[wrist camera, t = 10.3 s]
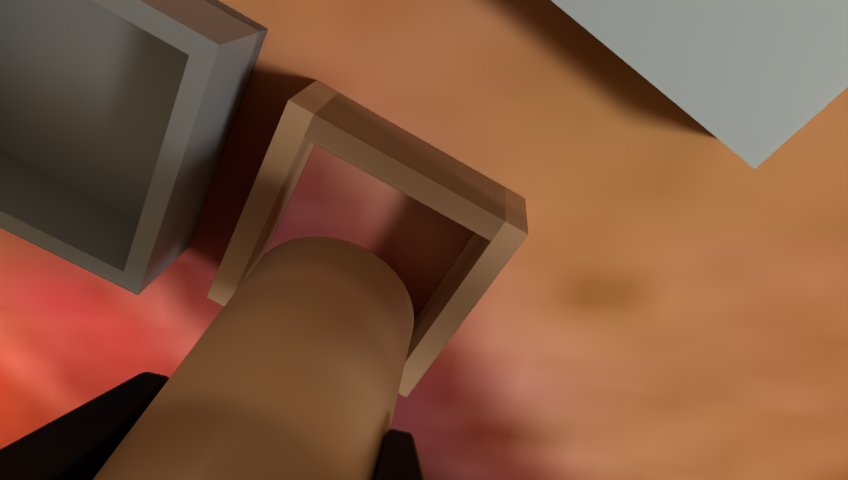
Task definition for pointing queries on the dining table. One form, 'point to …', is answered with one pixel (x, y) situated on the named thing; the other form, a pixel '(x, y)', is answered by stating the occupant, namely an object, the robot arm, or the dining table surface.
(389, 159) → the socket block
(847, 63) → the pale grey box
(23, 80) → the tray
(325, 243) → the dowel
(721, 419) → the dining table surface
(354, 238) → the dining table surface
